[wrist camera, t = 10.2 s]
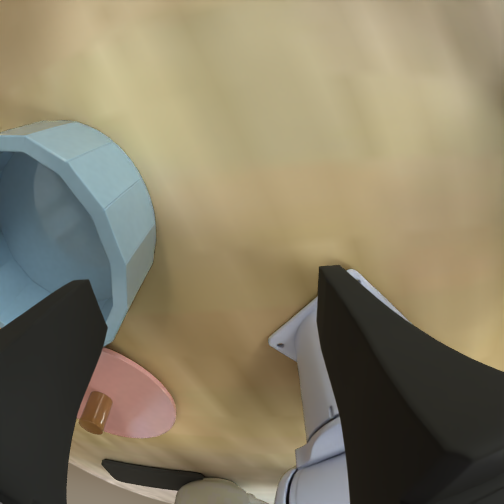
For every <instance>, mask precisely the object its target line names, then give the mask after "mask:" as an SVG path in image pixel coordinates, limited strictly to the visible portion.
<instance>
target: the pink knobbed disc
mask: <svg viewBox="0 0 504 504" xmlns="http://www.w3.org/2000/svg"><path fill="white" fill-rule="evenodd" d="M176 414H177V412H176V406H175V403H174V400H173V398H172V396H171V395H170V393H169V392H168V390H167V389H166V388H165V387H164V386H163V385H162V383H161V382H160V381H159V380H158V379H156V378H155V377H154V376H153V375H152V374H151V373H149V372H148V371H147V370H145V369H144V368H143V367H141V366H140V365H138V364H137V363H135V362H134V361H132V360H130V359H128V358H127V357H125V356H123V355H121V354H119V353H117V352H115V351H113V350H110V349H108V348H105V347H103V349H102V352H101V355H100V358H99V360H98V363H97V365H96V368H95V370H94V373H93V375H92V377H91V380H90V382H89V385H88V387H87V390H86V392H85V395H84V397H83V400H82V403H81V405H80V408H79V411H78V414H77V418H78V419H79V424H80V426H81V427H82V428H84V429H85V430H87V431H88V432H91V433H93V434H98V435H100V434H102V433H103V431H105V432H108V433H111V434H114V435H118V436H123V437H130V438H151V437H156V436H159V435H162V434H164V433H166V432H167V431H169V430H170V429H171V428H172V426H173V425H174V423H175V420H176Z"/></svg>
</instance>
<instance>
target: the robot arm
mask: <svg viewBox="0 0 504 504" xmlns="http://www.w3.org/2000/svg"><path fill="white" fill-rule="evenodd" d="M356 279H358V281H357V280H356ZM107 330H108V327H107V324H106V322H105V319H104V317H103V315H102V312H101V310H100V307H99V305H98V302H97V299H96V297H95V294H94V292H93V289H92V286H91V283H90V281H89V279H84V280H73V281H71V282H69V283H67V284H65V285H64V286H62V287H60V288H59V289H57V290H56V291H54V292H53V293H51V294H50V295H48V296H47V297H45V298H44V299H43V300H41V301H40V302H38V303H37V304H36V305H34V306H33V307H31V308H30V309H29V310H27V311H26V312H24V313H23V314H21V315H20V316H18V317H17V318H16V319H14V320H13V321H11V322H10V323H8V324H7V325H5V326H4V327H3V328H1V329H0V504H67V502H66V486H67V484H66V483H67V470H68V460H69V453H70V447H71V441H72V436H73V431H74V427H75V422H76V418H77V414H78V411H79V408H80V405H81V403H82V400H83V397H84V395H85V392H86V390H87V387H88V385H89V382H90V380H91V377H92V375H93V373H94V370H95V368H96V365H97V363H98V360H99V358H100V355H101V352H102V349H103V345H104V342H105V338H106V334H107ZM268 343H269V345H270V346H271V347H273V348H274V349H276V350H278V351H279V352H281V353H283V354H284V355H286V356H287V357H289V358H291V359H292V360H294V361H296V362H297V364H298V372H299V380H300V388H301V397H302V405H303V414H304V422H305V431H306V440H307V444H305V445H304V446H302V447H300V448H297V449H296V450H295V454H296V466H295V467H293V468H291V469H289V470H288V471H287V472H286V473H284V475H283V476H282V478H281V480H280V482H279V484H278V487H277V491H276V496H275V503H274V504H504V372H502V371H500V370H497V369H495V368H492V367H490V366H487V365H485V364H483V363H480V362H478V361H476V360H474V359H471V358H469V357H467V356H465V355H463V354H461V353H459V352H458V351H456V350H454V349H452V348H450V347H448V346H446V345H444V344H443V343H441V342H439V341H437V340H436V339H434V338H432V337H431V336H429V335H428V334H426V333H425V332H423V331H421V330H420V329H418V328H417V327H415V326H414V325H413V324H412V323H411V322H410V321H409V320H408V319H407V318H406V317H404V316H403V315H402V314H401V313H400V312H399V311H398V310H397V309H396V308H395V307H394V306H393V305H392V304H391V303H390V302H389V301H388V300H387V299H386V298H385V297H384V296H383V295H382V294H381V293H380V292H379V291H378V290H376V289H375V288H374V287H373V286H372V285H371V284H370V283H369V282H368V281H367V280H366V279H365V278H364V277H363V276H362V275H360V274H359V273H358V272H357V271H356V270H354V269H348V270H347V271H346V270H345V269H344V268H342V267H341V266H340V265H333V266H320V267H319V279H318V296H317V297H316V298H315V299H314V300H312V301H311V302H310V303H309V304H308V305H307V306H305V307H304V308H303V309H302V310H301V311H300V312H298V313H297V314H296V315H295V316H294V317H292V318H291V319H290V320H289V321H288V322H286V323H285V324H284V325H283V326H282V327H280V328H279V329H278V330H277V331H276V332H274V333H273V334H272V335H271V336H270V337H269V338H268ZM279 343H282V345H279Z"/></svg>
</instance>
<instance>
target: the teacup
mask: <svg viewBox="0 0 504 504" xmlns="http://www.w3.org/2000/svg"><path fill="white" fill-rule="evenodd" d="M175 504H268V503H266V502H264V501H262V500H259V499H257V498H255V496H254V495H252V494H248V493H246V491H244V490H243V489H242V488H240V487H239V486H238V485H236V484H235V483H233V482H231V481H229V480H225V479H220V478H203V480H196V481H192V482H190V483H188V484H186V485H184V486H182V487H181V488H180V489H179V491H178V492H177V495H176V499H175Z"/></svg>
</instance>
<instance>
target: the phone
mask: <svg viewBox="0 0 504 504" xmlns="http://www.w3.org/2000/svg"><path fill="white" fill-rule="evenodd" d="M102 466H103V467H104V468H105V469H106V470H107V471H108V472H109V473H110V475H111V476H112V477H113V478H114V479H116V480H118V481H121V482H125V483H130V484H136V485H141V486H147V487H154V488H161V489H168V490H177V491H179V489H180V488H181V487H182V486H184V485H186V484H188V483H190V482H192V481H196V480H203V478H204V477H203V475H201V474H199V473H194V472H183V471H173V470H165V469H157V468H150V467H143V466H137V465H131V464H125V463H120V462H115V461H110V460H102Z"/></svg>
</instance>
